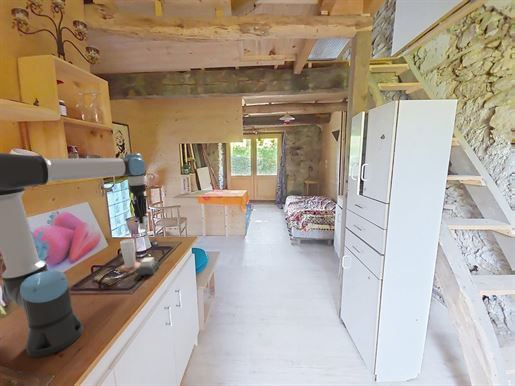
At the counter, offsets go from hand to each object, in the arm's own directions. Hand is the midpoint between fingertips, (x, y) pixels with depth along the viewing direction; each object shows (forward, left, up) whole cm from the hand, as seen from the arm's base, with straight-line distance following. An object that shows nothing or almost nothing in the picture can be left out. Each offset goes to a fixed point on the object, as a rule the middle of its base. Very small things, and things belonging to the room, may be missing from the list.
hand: (143, 228), depth 127 cm
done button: (0, 0, -22) cm, 22 cm away
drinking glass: (-2, +13, -23) cm, 26 cm away
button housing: (0, 0, -24) cm, 24 cm away
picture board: (-7, +13, -24) cm, 28 cm away
